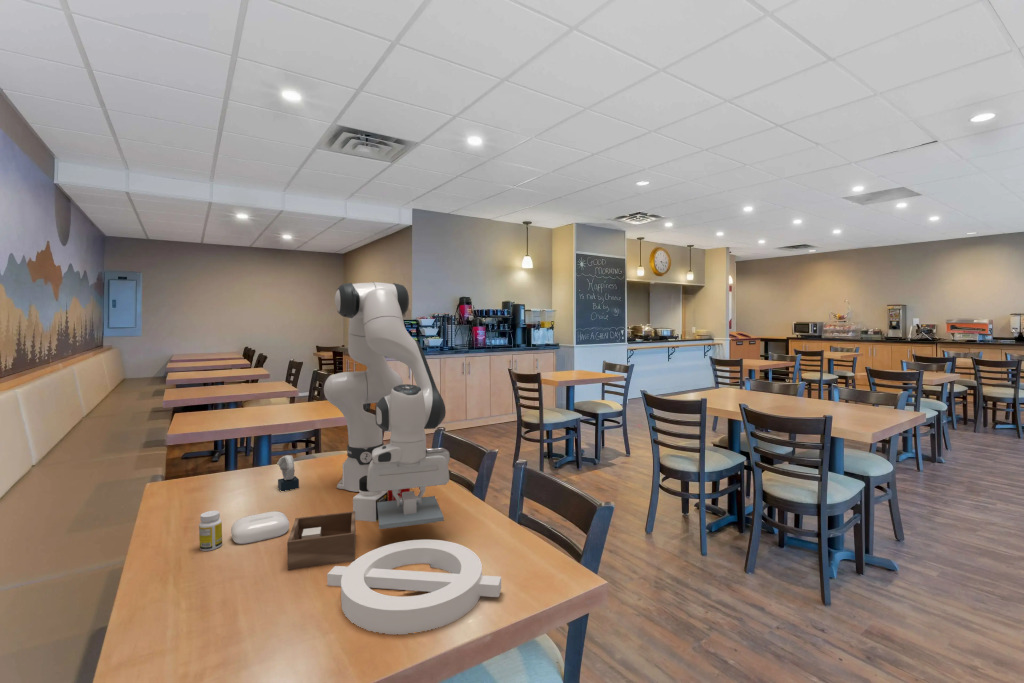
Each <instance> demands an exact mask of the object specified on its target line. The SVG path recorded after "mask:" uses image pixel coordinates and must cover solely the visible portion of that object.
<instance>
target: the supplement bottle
mask: <svg viewBox="0 0 1024 683" xmlns="http://www.w3.org/2000/svg"><path fill="white" fill-rule="evenodd" d="M199 518H200V523H199V524H198V533H199V534H198V536H199V537H198V538H199V540H198V541H199V550H200V551H203V552H209V551H214V550H216V549H219V548H221V546H223V522H222V519H221V516H220V511H219V510H209V511H204V512H203V513H201V514H200V517H199Z"/></svg>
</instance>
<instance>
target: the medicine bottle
mask: <svg viewBox="0 0 1024 683" xmlns="http://www.w3.org/2000/svg"><path fill="white" fill-rule="evenodd" d="M385 501H388V491H379V492H369V491H368V489H367V475H366V476H363V477H361V478H360V479H359V493H358V494H356V495H355V496H353V498H352V512H353V511H355V521H361V522H376V523H377V522H379V520H378V508H377V502H385Z"/></svg>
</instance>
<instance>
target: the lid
mask: <svg viewBox="0 0 1024 683" xmlns="http://www.w3.org/2000/svg"><path fill="white" fill-rule="evenodd" d="M416 496H417V495H416V493H415V491H413V490H410V491H409V492H402V497H403V506H400V507H397V500H394V501H385V502H377V508H378V529H379V530H382V529H394V528H402V527H409V526H418V525H419V526H420V525H424V524H426V525H427V524H434V523H440V522H444V520H445V516H444V514H443V511H442V509H441V507H440V505H439V503H438V499H437V497H436V495H432V496H422V498H421V504H418V505H416Z"/></svg>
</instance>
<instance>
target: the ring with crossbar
mask: <svg viewBox="0 0 1024 683" xmlns="http://www.w3.org/2000/svg"><path fill="white" fill-rule="evenodd" d="M416 564H426V565H427V564H429V567H430V568H434V569H439V570H442V571H445V572H435V571H422V570H421V571H419V570H406V569H405V570H404V569H402V570H401V569H396V568H400V567H402V566H408V565H416ZM448 572H449V573H448ZM326 575H327V576H326V578H327V582H326V583H327V586H329V587H330V586H332V587H340V590H341V591H340V594H341V596H340V598H341V600H340V603H341V606H340V607H341V610H343V611H342V612H344V613H343V615H344V614H345V615H344V616H345V617H347V618H348V619H349V620H350V621H351V622H350V621H349V620H348V619H347V618H346V619H347V620H348V621H349V622H350V623H352V624H353V623H354V624H356V625H357V626H356V625H355V626H356V627H358V626H359V627H358V628H360V627H361V628H360V629H362V628H364V629H363V630H365V629H366V630H365V631H368V632H371V631H373V632H372V633H376V632H379V633H378V634H382V633H385V634H384V635H397V634H398V635H409V634H408V633H413V634H415V633H414V632H420V633H422V632H421V631H425V632H427V630H429V631H432V630H431V629H433V630H436V629H439V628H442V627H445V626H447V625H449V624H451V623H453V622H455V621H458V620H459V619H461V618H462V617H464V616H466V615H467V614H468V613H469V612H470V611H472V609H473V608H474V607H475V606H476V605H477V603H478V602H479V600H480V598H481V597H491V598H499V597H500V594H501V590H502V576H497V575H483V565H482V560H481V559H480V557H479V556H478V554H476V553H475V552H474V551H473V550H472V549H470V548H468V547H466V546H465V545H462V544H460V543H458V542H457V543H456V542H453V541H452V542H451V541H447V540H441V539H412V540H410V539H409V540H405V541H398V542H394V543H389V544H386V545H382V546H380V547H378V548H375V549H372V550H370V551H368V552H366V553H364V554H363V555H360V556H359V557H357V559H356V558H355V561H351V563H350V564H349V565H348V566H343V565H342V566H341V565H340V566H339V565H334V566H333V568H332V569H330V570H329V572H328V573H327V574H326ZM373 589H387V590H399V591H400V590H401V591H412V592H415V591H416V592H428V593H423V594H418V595H410V596H407V595H406V596H393V595H389V594H388V595H387V594H383V593H380V592H377V591H374V590H373ZM354 624H353V625H354ZM438 627H439V628H438ZM435 628H436V629H435Z"/></svg>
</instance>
